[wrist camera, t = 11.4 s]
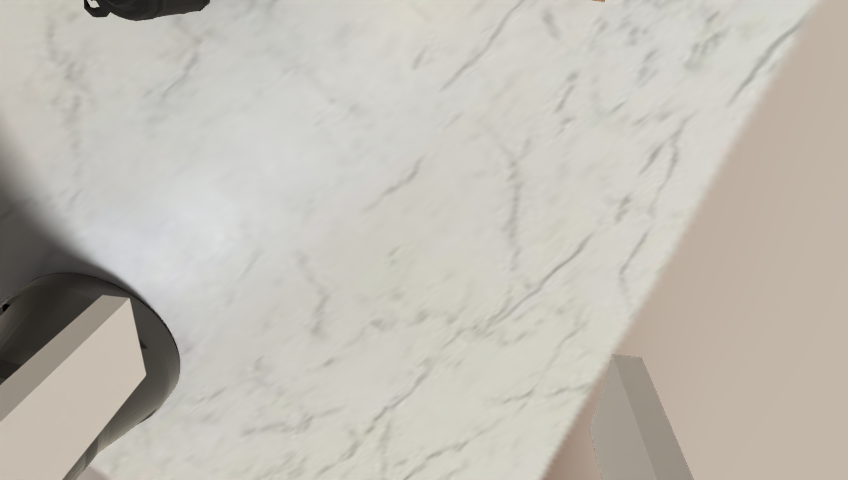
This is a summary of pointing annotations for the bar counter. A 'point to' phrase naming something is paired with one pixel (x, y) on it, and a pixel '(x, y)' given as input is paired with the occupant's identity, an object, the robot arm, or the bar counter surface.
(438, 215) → the bar counter surface
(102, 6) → the film camera
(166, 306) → the bar counter surface
